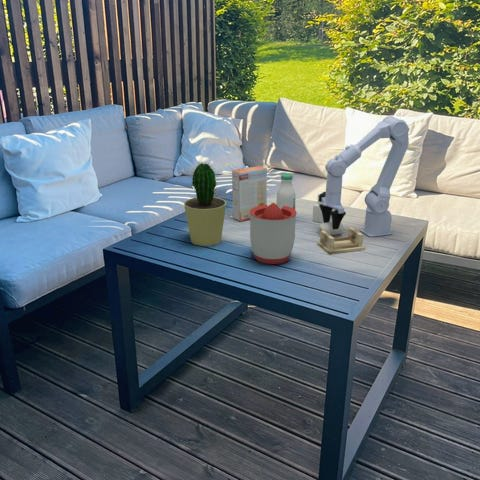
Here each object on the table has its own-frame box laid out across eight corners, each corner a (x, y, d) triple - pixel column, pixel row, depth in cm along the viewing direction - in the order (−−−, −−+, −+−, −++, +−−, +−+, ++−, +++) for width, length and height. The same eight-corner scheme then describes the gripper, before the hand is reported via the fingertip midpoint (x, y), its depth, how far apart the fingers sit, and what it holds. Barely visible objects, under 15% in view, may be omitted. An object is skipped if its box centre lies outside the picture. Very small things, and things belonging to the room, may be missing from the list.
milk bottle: (289, 226, 204) (291, 178, 197) (272, 223, 208) (273, 175, 201) (297, 221, 210) (299, 173, 203) (281, 217, 214) (282, 171, 207)
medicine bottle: (335, 219, 212) (337, 191, 208) (328, 224, 206) (330, 196, 202) (319, 216, 216) (320, 189, 211) (312, 221, 210) (313, 193, 206)
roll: (336, 233, 199) (336, 220, 198) (343, 235, 194) (342, 222, 193) (318, 235, 197) (317, 222, 196) (323, 237, 192) (323, 224, 191)
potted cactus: (235, 240, 191) (235, 161, 179) (205, 251, 180) (203, 168, 169) (207, 230, 200) (205, 154, 189) (177, 240, 190) (173, 161, 179)
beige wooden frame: (317, 244, 187) (317, 230, 185) (351, 239, 191) (352, 226, 189) (329, 254, 178) (330, 239, 176) (364, 249, 182) (366, 235, 180)
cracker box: (258, 212, 221) (259, 165, 213) (267, 216, 216) (268, 167, 208) (231, 218, 213) (231, 169, 206) (239, 222, 209) (239, 172, 201)
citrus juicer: (296, 249, 182) (298, 195, 175) (292, 269, 167) (295, 211, 159) (253, 246, 185) (254, 193, 178) (245, 265, 169) (246, 208, 162)
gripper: (315, 187, 194) (313, 220, 199) (332, 197, 181) (330, 233, 186) (331, 185, 196) (329, 218, 201) (350, 196, 183) (347, 231, 188)
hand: (330, 225), depth 194 cm, fingers open, 7 cm apart
